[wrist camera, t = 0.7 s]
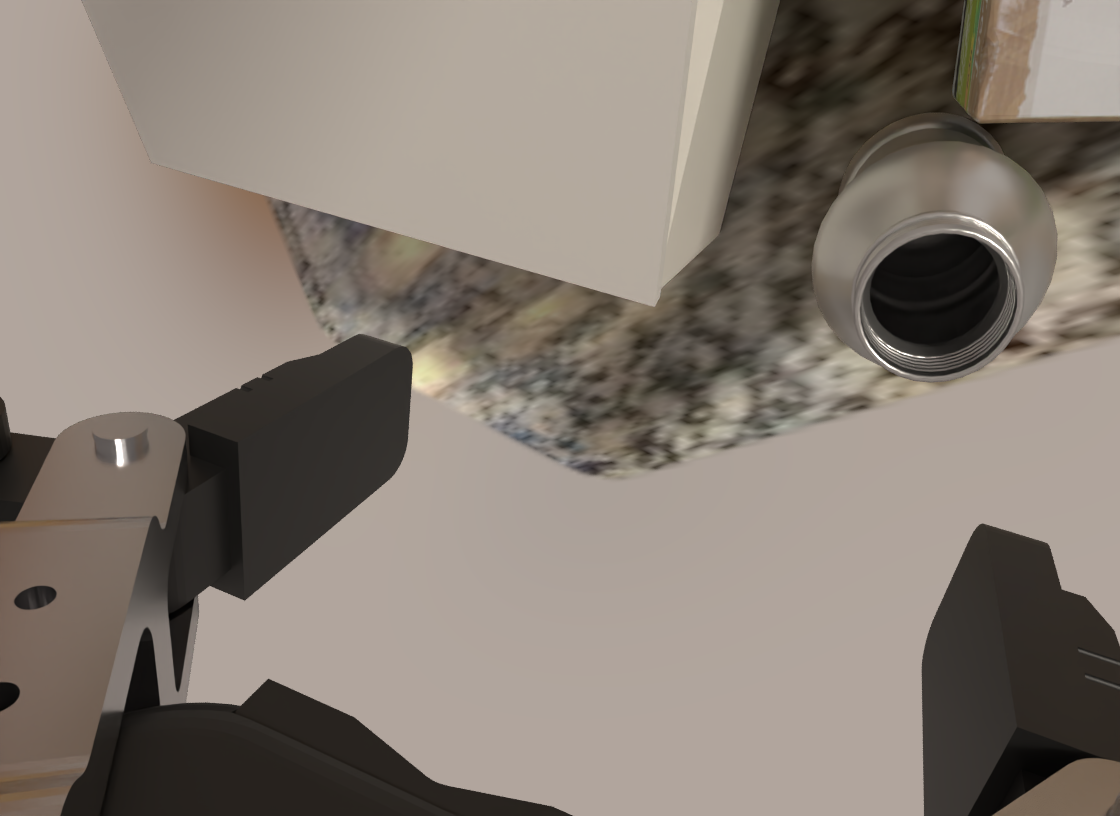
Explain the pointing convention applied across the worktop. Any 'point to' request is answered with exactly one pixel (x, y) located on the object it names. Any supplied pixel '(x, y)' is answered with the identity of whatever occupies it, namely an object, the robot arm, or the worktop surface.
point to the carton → (715, 119)
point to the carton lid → (428, 117)
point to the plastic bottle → (933, 249)
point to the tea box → (1039, 61)
